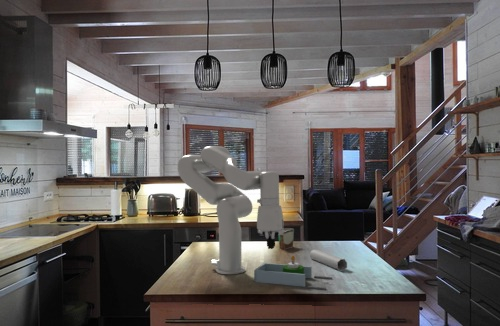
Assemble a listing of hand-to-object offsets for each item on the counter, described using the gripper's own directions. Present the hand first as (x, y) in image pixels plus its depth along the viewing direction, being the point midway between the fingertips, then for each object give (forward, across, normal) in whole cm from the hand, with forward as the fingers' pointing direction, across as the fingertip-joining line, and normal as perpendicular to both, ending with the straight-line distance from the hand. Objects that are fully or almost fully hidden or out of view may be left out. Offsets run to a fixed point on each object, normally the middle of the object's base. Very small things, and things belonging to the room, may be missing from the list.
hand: (271, 248), depth 166 cm
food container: (+12, -11, +60) cm, 62 cm away
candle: (+13, +9, 0) cm, 15 cm away
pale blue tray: (+12, +5, 0) cm, 13 cm away
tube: (+13, +16, +32) cm, 38 cm away
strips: (+13, +19, 0) cm, 23 cm away
